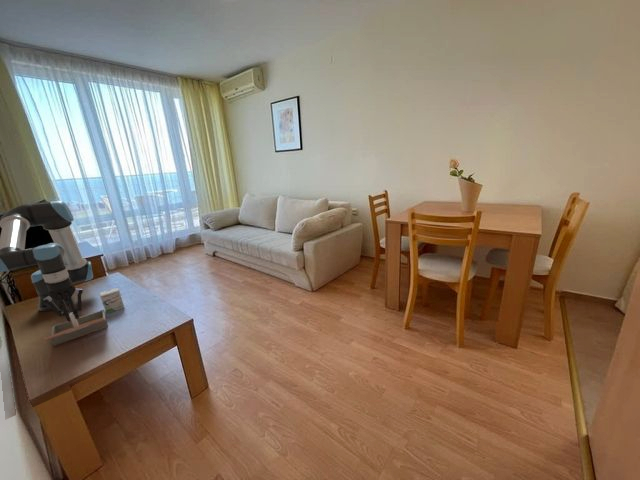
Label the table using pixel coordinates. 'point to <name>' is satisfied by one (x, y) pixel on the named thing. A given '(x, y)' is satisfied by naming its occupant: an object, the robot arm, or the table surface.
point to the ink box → (112, 300)
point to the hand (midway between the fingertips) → (76, 325)
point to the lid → (74, 329)
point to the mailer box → (80, 332)
